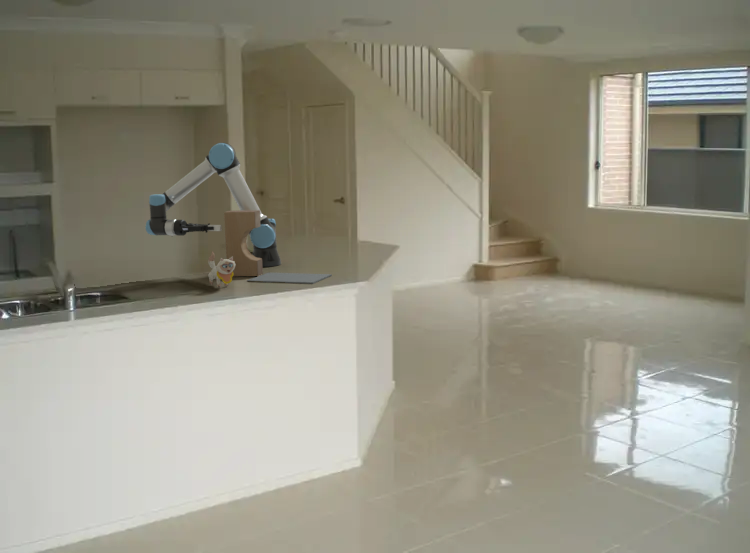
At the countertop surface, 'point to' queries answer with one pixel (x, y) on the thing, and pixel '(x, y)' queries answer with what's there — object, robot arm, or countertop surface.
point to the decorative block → (242, 241)
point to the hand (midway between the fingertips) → (220, 228)
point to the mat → (291, 278)
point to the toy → (221, 270)
